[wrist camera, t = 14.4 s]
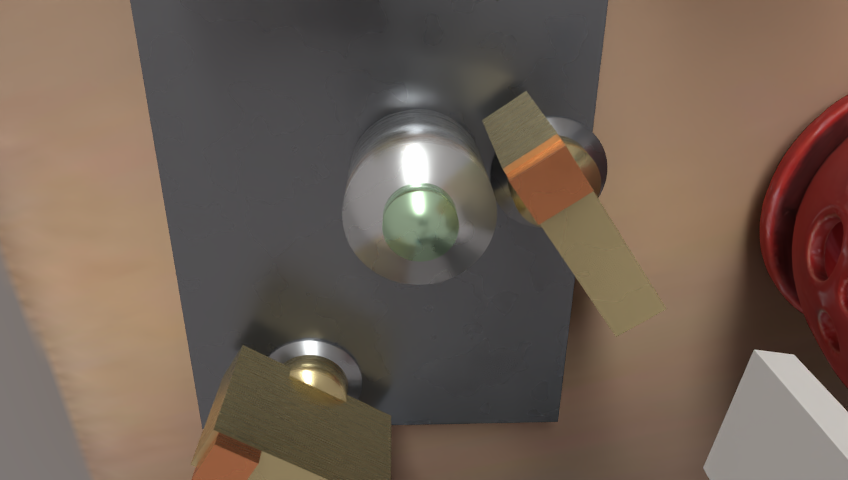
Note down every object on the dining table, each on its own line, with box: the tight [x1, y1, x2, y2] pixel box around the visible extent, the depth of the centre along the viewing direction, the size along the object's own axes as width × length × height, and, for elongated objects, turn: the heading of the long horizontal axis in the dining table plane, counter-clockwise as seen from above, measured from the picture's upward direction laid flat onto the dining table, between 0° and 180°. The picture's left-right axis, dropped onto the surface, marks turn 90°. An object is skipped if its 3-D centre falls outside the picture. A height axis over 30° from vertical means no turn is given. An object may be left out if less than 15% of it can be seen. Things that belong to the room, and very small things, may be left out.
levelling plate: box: [130, 0, 608, 429], centre depth 24 cm, size 24×17×7 cm
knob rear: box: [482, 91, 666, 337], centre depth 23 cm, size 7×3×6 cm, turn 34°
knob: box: [191, 345, 391, 480], centre depth 26 cm, size 7×3×6 cm, turn 57°
